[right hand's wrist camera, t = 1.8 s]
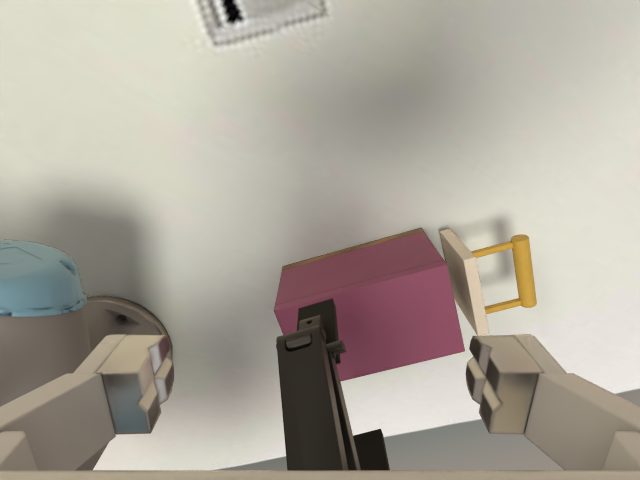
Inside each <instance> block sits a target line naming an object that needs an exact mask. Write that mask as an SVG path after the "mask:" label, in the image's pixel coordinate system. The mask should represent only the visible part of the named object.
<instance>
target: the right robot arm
mask: <svg viewBox="0 0 640 480" xmlns="http://www.w3.org/2000/svg"><path fill="white" fill-rule="evenodd" d="M170 349H171V348H170V343H169V338H168V337H166V336H165V335H126V334H121V335H108V336H105V337H104V339H103V340H102V341H101V342H100V343H99V344H98V345H97V347H96V348H95V349H94V350H93V351H92V352H91V353H90V354H89V356H88V357H87V358H86V359H85V360H84V361H83V362H82V364H81V365H80V366H79V367H78V368H77V369H76V370H75V372H74V373H67V374H65V375H63V376H61V377H59V378H57V379H55V380H53V381H51V382H49V383H47V384H45V385H43V386H41V387H39V388H37V389H35V390H33V391H31V392H29V393H27V394H25V395H23V396H21V397H19V398H17V399H15V400H13V401H11V402H9V403H7V404H5V405H3V406H1V407H0V480H640V407H639V406H637V405H635V404H633V403H631V402H629V401H627V400H625V399H623V398H621V397H619V396H617V395H615V394H613V393H611V392H609V391H607V390H605V389H603V388H601V387H599V386H597V385H595V384H593V383H591V382H589V381H587V380H585V379H583V378H581V377H579V376H577V375H575V374H573V373H566V372H565V370H564V369H563V368H562V367H561V366H560V365H559V364H558V362H557V361H556V360H555V359H554V358H553V357H552V356H551V355H550V353H549V352H548V351H547V350H546V349H545V348H544V347H543V345H542V344H541V343H540V342H539V341H538V340H537V339H536V337H535V336H533V335H530V334H522V335H495V336H473V337H472V339H471V342H470V348H469V349H470V351H471V353H472V355H473V357H472V359H471V360H470V361H469V362H468V363H467V368H466V381H467V387H468V390H469V393H470V395H471V397H472V399H473V400H474V401H476V402H477V403H478V404H480V409H479V414H480V416H481V418H482V420H483V422H484V424H485V426H486V427H487V430H488V432H489V433H492V434H525V435H524V436H525V437H526V438H527V439H528V440H530V441H531V442H532V443H533V444H534V445H536V446H537V447H538V448H539V449H540V450H542V451H543V452H544V453H545V454H546V455H547V456H549V457H550V458H551V459H552V460H553V461H555V462H556V463H557V464H558V465H559V466H561V467H562V468H563V469H564V470H553V471H464V470H462V471H461V470H460V471H458V470H456V471H454V470H451V471H449V470H446V471H445V470H443V471H441V470H433V471H432V470H428V471H427V470H425V471H424V470H344V471H79V470H76V469H77V468H78V467H80V466H81V465H82V464H83V463H84V462H86V461H87V460H88V459H89V458H90V457H92V456H93V455H94V454H95V453H96V452H98V451H99V450H100V449H101V448H102V447H103V446H105V445H106V444H107V443H108V442H109V441H111V440H112V439H113V438H114V437H115V436H116V435H115V434H147V433H151V432H152V430H153V428H154V426H155V424H156V422H157V420H158V418H159V416H160V414H161V409H160V404H162V403H163V402H164V401H166V400H167V399H168V397H169V395H170V393H171V391H172V386H173V382H174V367H173V363H172V362H171V361H170V360H169V359H168V357H167V355H168V353H169V351H170Z"/></svg>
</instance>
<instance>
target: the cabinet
mask: <svg viewBox="0 0 640 480" xmlns="http://www.w3.org/2000/svg"><path fill="white" fill-rule="evenodd" d="M332 298H333V301H334V303H335V306H336V316H337V327H338V338H339V341H340V340H342V341H343V343H344V346H345V349H346V353H342V354H340V360H341V363H339V364H336V366H337V370H338V374H339V378H340V381H344V380H348V379H352V378H356V377H361V376H365V375H369V374H373V373H377V372H381V371H385V370H390V369H394V368H398V367H402V366H406V365H410V364H414V363H418V362H423V361H427V360H431V359H435V358H439V357H443V356H447V355H452V354H456V353H460V352H464V351H465V349H464V344H463V339H462V334H461V329H460V325H459V320H458V315H457V310H456V305H455V301H454V296H453V291H452V286H451V281H450V276H449V272H448V267H447V264H446V263H445V261H444V260H443V258H442V257H441V255H440V254H439V253H438V251H437V250H436V248H435V247H434V246H433V244H432V243H431V241H430V240H429V238H428V237H427V236H426V234H425V233H424V231H423V229H422V228H419V229H415V230H411V231H408V232H404V233H401V234H397V235H394V236H390V237H386V238H383V239H379V240H376V241H372V242H368V243H365V244H361V245H358V246H354V247H350V248H347V249H343V250H340V251H336V252H333V253H329V254H325V255H322V256H318V257H315V258H311V259H307V260H304V261H300V262H297V263H293V264H290V265H286V266H283V268H282V274H281V279H280V284H279V289H278V294H277V298H276V303H275V308H274V312H275V315H276V317H277V320H278V322H279V325H280V327H281V330H282V332H283V335H286V334H289V333H293V332H296V331H297V321H298V308H301V307H305V306H308V305H312V304H315V303H318V302H322V301H325V300H328V299H332Z"/></svg>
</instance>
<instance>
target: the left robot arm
mask: <svg viewBox="0 0 640 480" xmlns="http://www.w3.org/2000/svg"><path fill="white" fill-rule="evenodd" d="M121 334H126V335H165V336H166V337H168V334H167V332H166V331H165V329H164V327H163V326H162V324H161V323H160V322H159V321H158V320H157V319H156V318H155V317H154V316H153V315H152V314H151V313H150V312H148V311H147V310H146V309H144V308H143V307H141V306H139V305H137V304H135V303H133V302H131V301H128V300H125V299H122V298H117V297H111V296H96V297H90V298H86V295H85V293H84V292H83V291H82V286H81V281H80V276H79V271H78V268H77V265H76V263H75V262H74V260H73V259H72V258H71V257H70V256H68V255H67V254H66V253H64V252H62V251H60V250H58V249H56V248H53V247H51V246H47V245H43V244H39V243H34V242H28V241H18V240H2V239H0V407H1V406H3V405H5V404H7V403H9V402H11V401H13V400H15V399H17V398H19V397H21V396H23V395H25V394H27V393H29V392H31V391H33V390H35V389H37V388H39V387H41V386H43V385H45V384H47V383H49V382H51V381H53V380H55V379H57V378H59V377H61V376H63V375H65V374H67V373H74V372H75V370H76V369H77V368H78V367H79V366H80V365H81V364H82V362H83V361H84V360H85V359H86V358H87V357H88V356H89V354H90V353H91V352H92V351H93V350H94V349H95V348H96V347H97V345H98V344H99V343H100V342H101V341H102V340H103V339H104V337H105V336H108V335H121ZM168 338H169V337H168ZM169 343H170V348H171V342H170V339H169ZM276 347H277V353H278V364H279V376H280V388H281V399H282V411H283V423H284V434H285V446H286V458H287V469H288V471H344V470H390V469H389V464H388V458H387V453H386V448H385V443H384V438H383V434H382V431H381V429H378V430H374V431H370V432H366V433H362V434H358V435H355V436H353V434H352V430H351V426H350V421H349V417H348V413H347V409H346V404H345V400H344V396H343V391H342V387H341V383H340V378H339V374H338V370H337V366H336V364H339V363H341V360H340V354H342V353H346V349H345V346H344V343H343V341H342V340H340V341H339V338H338V327H337V316H336V306H335V303H334V301H333V298H332V299H328V300H325V301H322V302H318V303H315V304H312V305H308V306H305V307H301V308H298V321H297V331H296V332H293V333H289V334H286V335H283V336H279V337H277V345H276ZM167 357H168V359H169V360H170V361H171V357H172V348H171V349H170V351H169V353H168V355H167ZM108 443H109V442H108ZM108 443H107V444H108ZM107 444H106V445H105V446H103V447H102V448H101V449H100V450H99V451H98V452H96V453H95V454H94V455H93V456H92V457H90V458H89V459H88V460H87V461H86V462H84V463H83V464H82V465H81V466H80V467H78V468H77V469H76V470H79V471H92V470H93V468H94V467H95V465H96V463H97V462H98V460H99V458H100V456H101V455H102V453H103V451H104V450H105V448H106V446H107Z"/></svg>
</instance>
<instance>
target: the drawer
mask: <svg viewBox="0 0 640 480" xmlns="http://www.w3.org/2000/svg"><path fill="white" fill-rule="evenodd" d="M440 235H441V240H442V244H443V249H444V254H445V259H446V264H447V267H448V272H449V276H450V281H451V286H452V291H453V296H454V299H455V300H456V302H457V304H458V305H459V307H460V308H461V310H462V312H463V313H464V315H465V316H466V318H467V320H468V321H469V323H470V324H471V326H472V328H473V329H474V331H475V332H476V334H477V335H478V336H481V335H486V334H489V329H488V324H487V318H486V314H489V313H493V312H497V311H501V310H505V309H509V308H513V307H517V306H522V307H525V308H531V307H534V306H535V305H536V304H537V301H536V293H535V285H534V277H533V268H532V260H531V252H530V244H529V237H528V236H527V235H516V236H513V237H512V238H511V241H509V242H505V243H501V244H498V245H494V246H490V247H486V248H483V249H479V250H475V251H472V252H470V250H469V249H468V248H467V247H466V246H465V245H464V244H463V243H462V242H461V240H460V239H459V238H458V237H457V236H456V235H455V234H454V233H453V232H452V230H451V229H447V230H443V231H440ZM511 248H512V252H513V259H514V266H515V273H516V280H517V288H518V295H519V298H518V299H514V300H510V301H506V302H502V303H498V304H494V305H490V306H486V307H484V301H483V295H482V290H481V284H480V278H479V273H478V267H477V262H476V258H478V257H481V256H485V255H489V254H493V253H496V252H500V251H504V250H508V249H511Z"/></svg>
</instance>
